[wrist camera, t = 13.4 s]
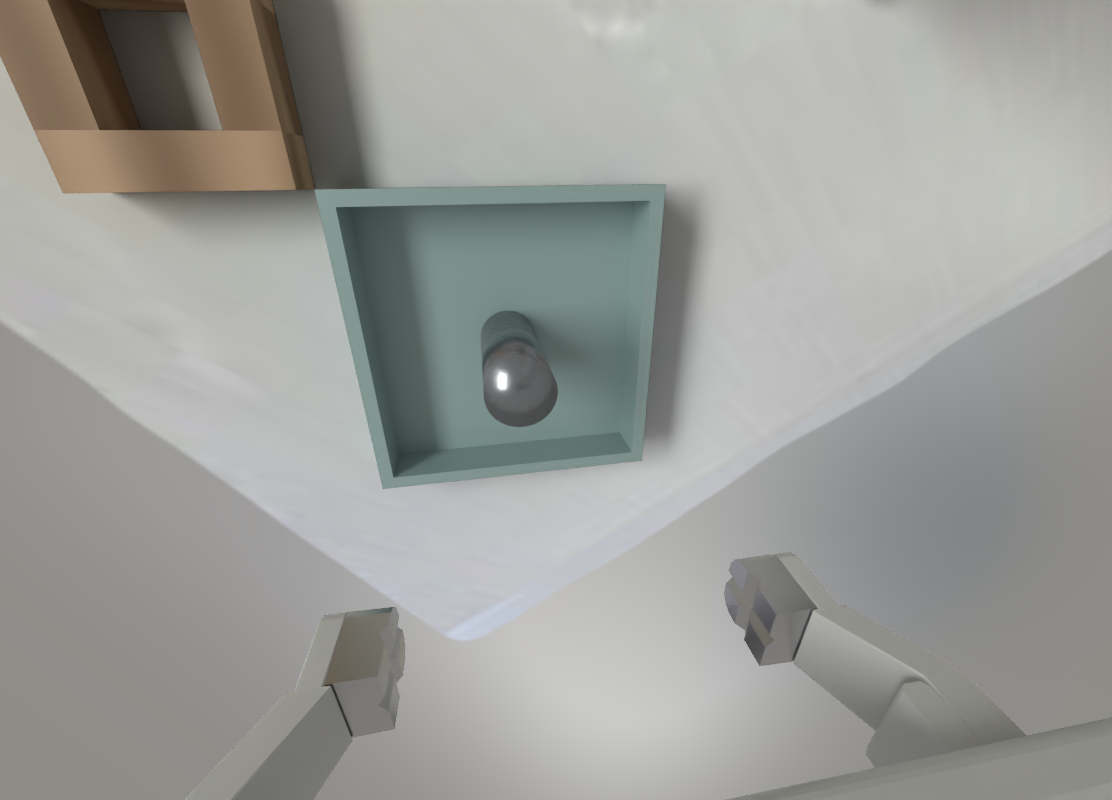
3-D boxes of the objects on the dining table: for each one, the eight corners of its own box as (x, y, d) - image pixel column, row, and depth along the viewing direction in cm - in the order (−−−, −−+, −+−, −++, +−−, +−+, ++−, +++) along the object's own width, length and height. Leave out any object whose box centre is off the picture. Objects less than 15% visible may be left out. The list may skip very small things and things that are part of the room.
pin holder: (259, -56, 20) (226, -92, 17) (315, 189, 24) (295, 189, 22) (1, -71, 19) (-77, -114, 16) (110, 192, 23) (63, 193, 20)
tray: (643, 184, 27) (665, 184, 24) (626, 436, 35) (641, 460, 32) (334, 189, 25) (314, 189, 21) (391, 459, 33) (383, 489, 29)
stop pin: (533, 309, 29) (557, 356, 21) (535, 360, 30) (558, 423, 22) (478, 312, 28) (480, 362, 20) (482, 364, 30) (486, 430, 22)
